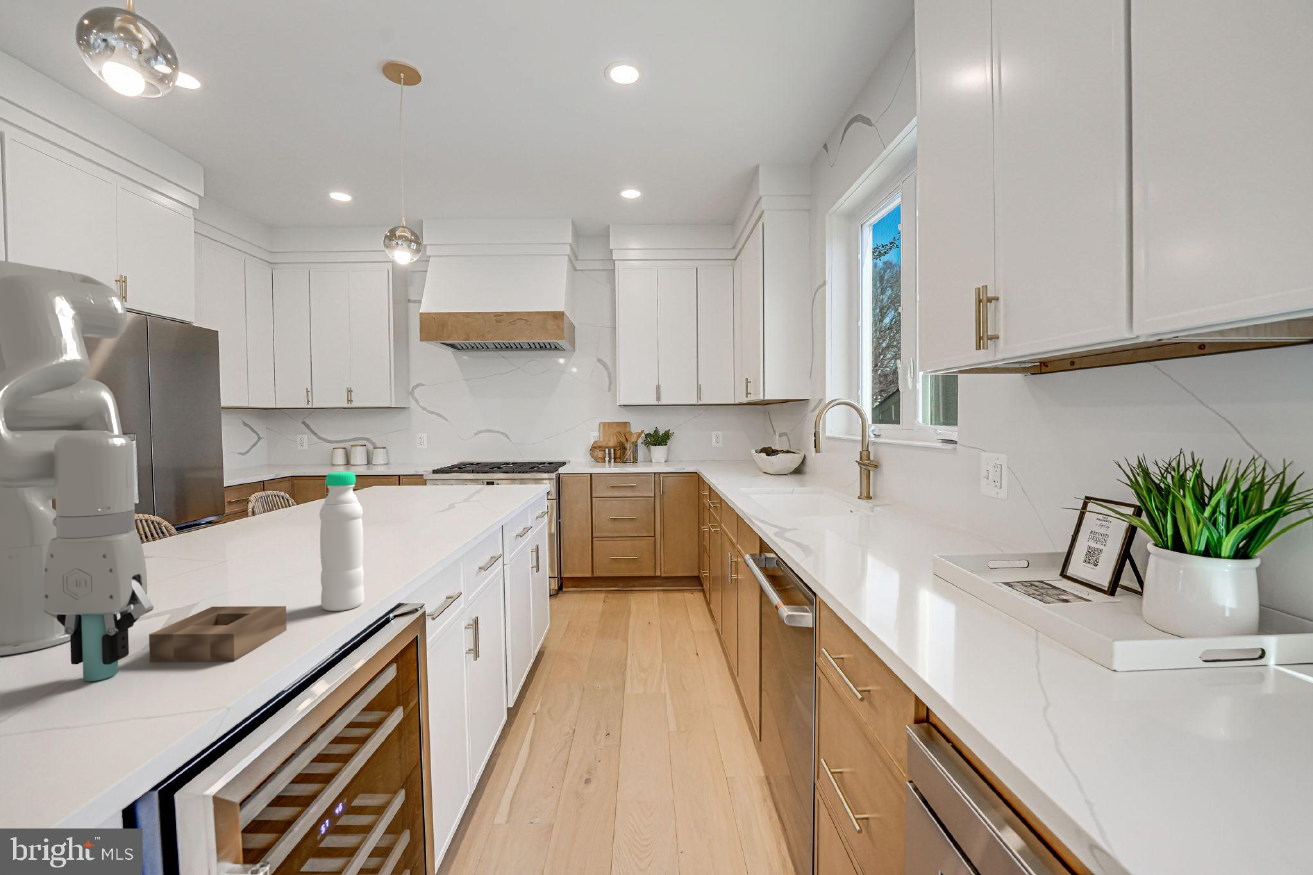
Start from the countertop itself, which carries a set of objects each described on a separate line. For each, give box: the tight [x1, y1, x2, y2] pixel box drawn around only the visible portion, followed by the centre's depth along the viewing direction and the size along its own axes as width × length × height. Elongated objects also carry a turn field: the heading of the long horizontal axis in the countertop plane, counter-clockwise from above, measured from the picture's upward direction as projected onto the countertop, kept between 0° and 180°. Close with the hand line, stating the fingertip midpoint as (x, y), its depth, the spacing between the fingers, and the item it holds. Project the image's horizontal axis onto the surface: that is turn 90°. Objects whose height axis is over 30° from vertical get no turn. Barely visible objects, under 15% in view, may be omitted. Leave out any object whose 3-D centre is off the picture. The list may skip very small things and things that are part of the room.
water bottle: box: [319, 471, 365, 612], centre depth 106 cm, size 7×7×25 cm
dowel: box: [81, 615, 119, 682], centre depth 77 cm, size 3×3×11 cm
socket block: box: [148, 605, 287, 663], centre depth 88 cm, size 12×12×4 cm
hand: (100, 658), depth 77 cm, fingers closed on dowel, 3 cm apart
